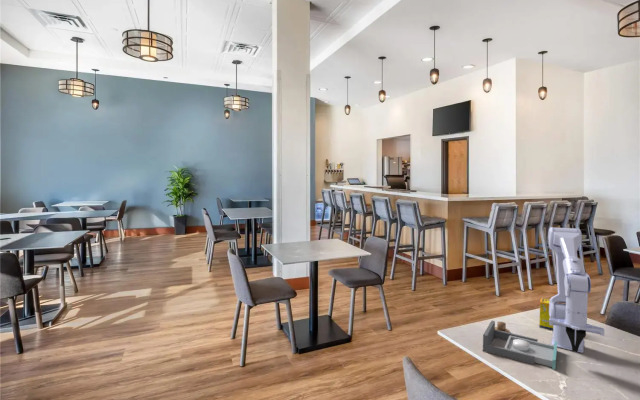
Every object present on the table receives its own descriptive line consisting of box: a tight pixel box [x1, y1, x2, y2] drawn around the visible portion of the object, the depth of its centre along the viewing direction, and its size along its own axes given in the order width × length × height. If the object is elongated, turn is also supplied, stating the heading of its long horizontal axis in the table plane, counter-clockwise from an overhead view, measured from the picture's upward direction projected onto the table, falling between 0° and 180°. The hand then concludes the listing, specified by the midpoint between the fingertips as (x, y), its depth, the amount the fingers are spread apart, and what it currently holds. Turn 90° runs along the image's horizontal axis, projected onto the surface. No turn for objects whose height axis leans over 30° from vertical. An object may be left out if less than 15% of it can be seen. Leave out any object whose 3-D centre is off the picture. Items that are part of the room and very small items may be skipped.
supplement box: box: [538, 298, 558, 331], centre depth 144 cm, size 6×6×11 cm
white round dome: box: [513, 339, 530, 352], centre depth 123 cm, size 5×5×2 cm
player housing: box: [482, 320, 539, 365], centre depth 125 cm, size 16×16×6 cm
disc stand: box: [495, 321, 511, 333], centre depth 139 cm, size 6×6×4 cm
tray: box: [504, 336, 558, 371], centre depth 121 cm, size 15×16×3 cm
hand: (574, 350), depth 114 cm, fingers closed
